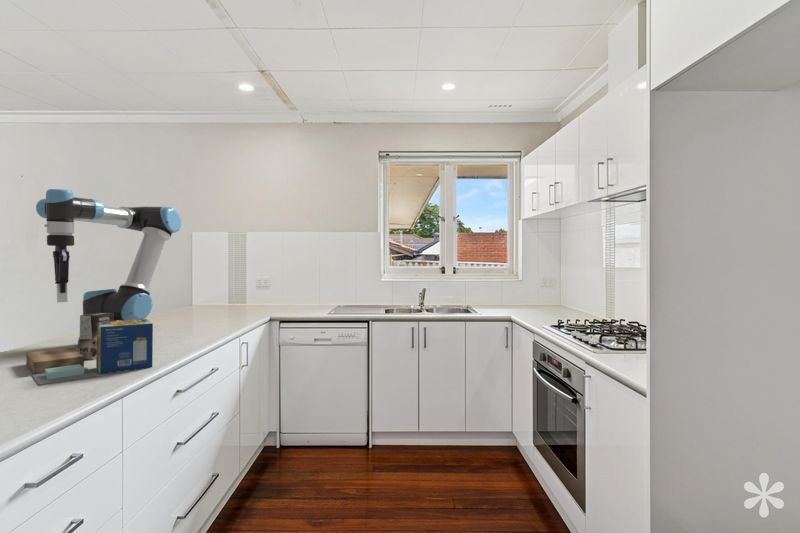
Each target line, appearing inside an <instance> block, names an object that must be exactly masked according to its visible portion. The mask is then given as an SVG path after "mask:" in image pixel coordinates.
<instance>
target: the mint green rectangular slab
mask: <svg viewBox="0 0 800 533" xmlns="http://www.w3.org/2000/svg"><path fill="white" fill-rule="evenodd" d="M84 367H85V366H84ZM84 367H83V366H81V365H80V364H79V365H71V366H64V367H56V368H49V369H45V376H46V377H47V379H54V378H61V377H68V376H74V375H81V374H84Z"/></svg>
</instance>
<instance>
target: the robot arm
mask: <svg viewBox="0 0 800 533" xmlns="http://www.w3.org/2000/svg"><path fill="white" fill-rule="evenodd" d="M35 211H36V213H37V214H38V216H39V217H41V218H43V219H46V223H45V224H44V227H45V228H46V234H47V235H46V245H47V246H49V247H50V246H51V247H54V250H53V251H52V257H53V265H54V280H55V281H54V282H55V283H54V284H56V302H57V303H68V302H69V301H68V300H69V299H68V283H69V281H70V280H69V273H70V272H69V268H70V257H71V256H70V251H68V247H72V246H75V236H74V234H75V221H76V222H83V223H93V224H94V223H95V224H101V225H102V224H103V225H111V226H113V225H114V226H117V227H118V228H120V229H127V230H132V231H136V232H142V233H143V236H142V240H141V242H140V245H139V248H138V250H137V253H136V255H135V258H134V261H133V263H132V265H131V268H130V270H129V273H128V276H127V278H126V281H125V283H123V284H121V285H119V286H118V287H119V288H118V290H117V289H116V288H108V289H100V290H91V291H90V290H89V291H86V292H84V294H83V295H82V296H83V299H82V315H86V314H94V313H114V321H128V320H142V319H147V317H148V316H149V315H150V314H151V312H152V309H153V303H152V302H153V299H152V297H151V292H150V290H149V287H150V283H151V281H152V278H153V275H154V273H155V270H156V267H157V265H158V262H159V259H160V256H161V254H162V251H163V248H164V246H165V243H166V241H169V240H170V239H171V237H172V234H174V233H177V232H179V231H180V229H181V228H182V219H181V216H180V213H179V212H178V210H177V209H175V208H174V207H172V206H165V205H164V206H131V207H129V206H120V207H113V206H107V205H104V203H103V202H102V201H100V200H98V199H93V198H84V197H75V196H74V192H73V191H72V190H69V189H59V188H51V189H47V190H46V192H45V198H43V199H42V198H41V199H39V201H37V202H36V206H35ZM79 344H80V336H79V337H78V340H77V347H78V348H79V346H80V345H79Z"/></svg>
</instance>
